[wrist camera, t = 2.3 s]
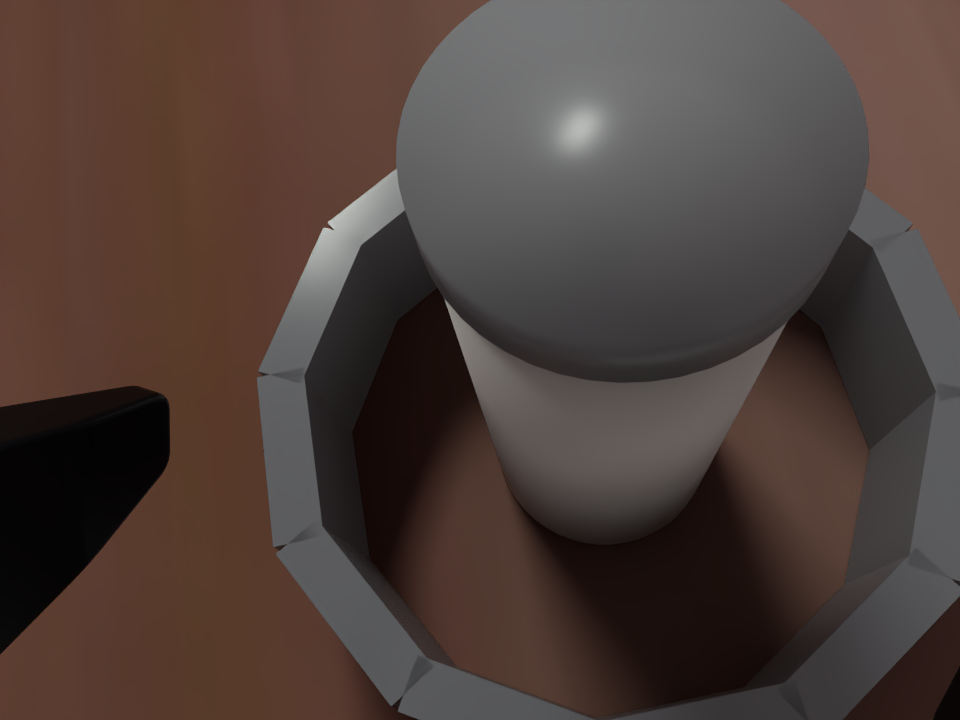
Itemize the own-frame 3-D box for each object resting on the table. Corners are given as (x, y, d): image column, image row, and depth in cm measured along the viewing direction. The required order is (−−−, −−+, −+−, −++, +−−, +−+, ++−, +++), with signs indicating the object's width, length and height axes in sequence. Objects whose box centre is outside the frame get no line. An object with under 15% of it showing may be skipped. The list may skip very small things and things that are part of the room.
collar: (847, 866, 17) (922, 912, 13) (227, 631, 20) (146, 615, 16) (948, 262, 21) (1025, 170, 18) (431, 148, 24) (405, 49, 21)
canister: (681, 579, 19) (817, 409, 8) (465, 510, 20) (326, 278, 9) (732, 373, 21) (905, -2, 10) (531, 320, 22) (480, -69, 11)
